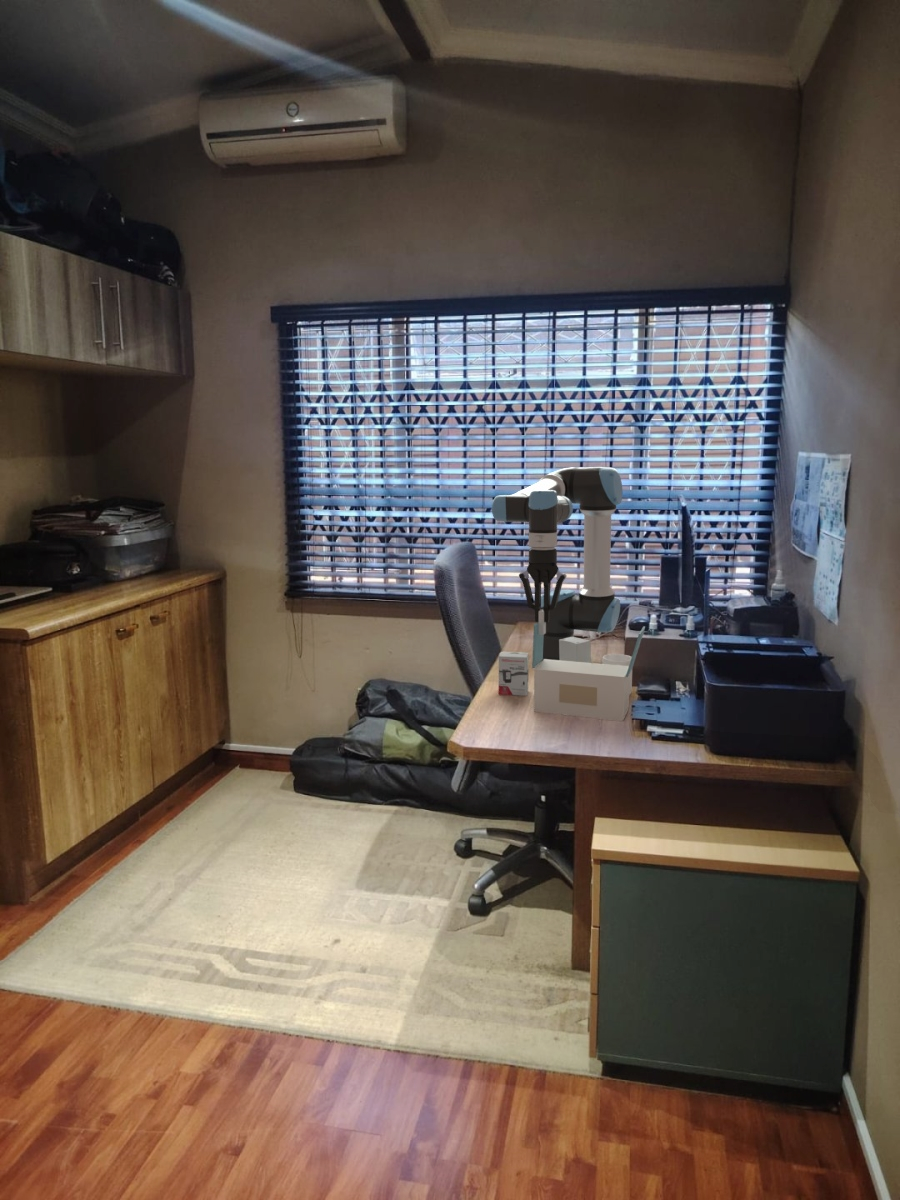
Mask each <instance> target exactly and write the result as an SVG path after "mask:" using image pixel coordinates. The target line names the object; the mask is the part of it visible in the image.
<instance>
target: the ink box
mask: <svg viewBox="0 0 900 1200" xmlns="http://www.w3.org/2000/svg"><path fill="white" fill-rule="evenodd" d="M529 655H530V654H529V653H528V652H521V651H519V652H518V651H501V652H499V654H498V694H497V695H505V696H522V697H524V696H528V693H529V667H530V666H529V662H530V661H529V659H530V657H529Z"/></svg>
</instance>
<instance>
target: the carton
mask: <svg viewBox="0 0 900 1200" xmlns="http://www.w3.org/2000/svg"><path fill="white" fill-rule="evenodd" d="M628 668H629V666H621V665H610V664H602V663H594V662H591V663H586V662H574V661H562V660H550V659H544V660H543V661H541V662H540V663H539V664H538V665H537V666H536V667H535V668H533V670H534V672H533V674H534V675H533V680H534V681H533V694H534V695H533V712H535V713H544V714H552V713H553V714H554V715H561V714H562V715H565V716H571V717H581V718H590V719H591V718H592V719H599V720H600V719H601V720H610V721H617V722H624V720H625V717H626V716H627V713H628V712H629V709H630V695H629V688H630V674H629V676H628V677H626V674H627V671H628Z"/></svg>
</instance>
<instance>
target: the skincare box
mask: <svg viewBox="0 0 900 1200" xmlns="http://www.w3.org/2000/svg"><path fill="white" fill-rule="evenodd" d="M591 647H592V646H591V640H590V639H589V640H588V639H585V638H579V637H576V636H574V637H568V638H564V639H560V640H559V658H560V660H562V661H574V662H586V663H592V657H591V655H592V651H591V649H592V648H591Z"/></svg>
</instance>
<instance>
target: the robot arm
mask: <svg viewBox="0 0 900 1200" xmlns="http://www.w3.org/2000/svg"><path fill="white" fill-rule="evenodd" d="M622 501H623V483H622V479H621V475H620V472H619V471H618V470H617V469H616V468H614V467H609V466H608V467H607V466H594V467H593V466H591V467H587V466H585V467H583V466H582V467H575V466H574V467H565V468H561V469H558V470H556V471H553V472H550V473H548V474H546V475H544V476H542V477H541V478H540V479H539V480H538V482H537V483H534V484H532V485H530V486H528V487H526V488H524V489H522V490H519V491H517V492H516V493H513V494H510V495H509V494H508V495H507V494H501V495H496V496H495V497H494V499H493V501H492V504H491V512H492V513H491V514H492V517H493V519H494V520H495V521H497V522H505V523H508V522H509V523H510V522H512V523H528V547H529V550H528V565H527V566H526V567H527V568H526V570H525V571H523V572H521V573H519V574H518V577H519V579H520V580H521V582H522V585H523V590H524V595H525V598H526V602H527V607H528V608H529V609H533V610H534V621H535V623H537V622H539V634H538V635H544V639H543V660H544V659H550V660H560V658H559V640H560V639H564V638H568V637H575V631H582V632H595V633H599V634H600V633H607V634H608V633H611V632H612V631H614V630H615V627H616V626H617V624H618V620H619V617H620V612H621V600H620V599H619V598H618V597H615V595H616V593H615V590H613V588H611V556H612V555H611V554H612V553H611V547H612V546H611V545H612V544H611V543H612V541H611V540H612V514H613V513H614V512H616V511H617V506H618V505H620V504H621V503H622ZM573 504H576V505H578V504H579V511H580V512H581V513H582V514H583V518H584V519H583V522H584V523H583V524H584V525H583V530H584V531H583V587H582V588H581V589H579V591H578V595H576V593H575V590H572V589H562V586H563V583H564V581H565V580H566V579H567V574H566V573H562V572H561V571H560V570H559V567H558V564H557V563H558V559H557V558H558V550H557V546H558V524H562V523H564V522H566V521H567V520H569V519H570V518H571V516H572V514H573V511H574V506H573ZM555 576H556V577H555ZM529 577H531V579H532V580H533V582H534V584H533V585H534V595H533V592H532V587H531V583H530V579H529ZM554 578H556V580H557V581H556V583H555V587H554V590H552V591H551V584H552V583H551V582H552V581H553V580H554ZM542 583H543V594H542ZM543 660H542V661H543ZM542 661H541V662H542Z"/></svg>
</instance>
